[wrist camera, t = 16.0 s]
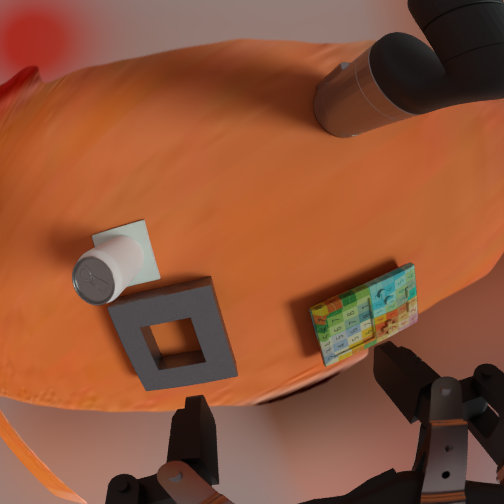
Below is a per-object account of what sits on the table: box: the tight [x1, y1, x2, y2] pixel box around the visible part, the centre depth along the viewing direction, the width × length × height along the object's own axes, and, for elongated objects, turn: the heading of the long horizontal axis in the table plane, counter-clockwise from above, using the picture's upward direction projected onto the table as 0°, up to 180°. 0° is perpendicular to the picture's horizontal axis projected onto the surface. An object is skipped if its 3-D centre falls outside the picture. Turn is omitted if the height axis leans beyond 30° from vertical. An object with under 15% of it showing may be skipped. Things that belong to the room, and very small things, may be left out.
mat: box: [92, 220, 161, 287], centre depth 38 cm, size 9×9×1 cm
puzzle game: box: [309, 263, 418, 367], centre depth 43 cm, size 12×5×20 cm
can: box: [72, 236, 144, 305], centre depth 32 cm, size 6×6×12 cm
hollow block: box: [107, 276, 238, 391], centre depth 40 cm, size 16×16×4 cm
